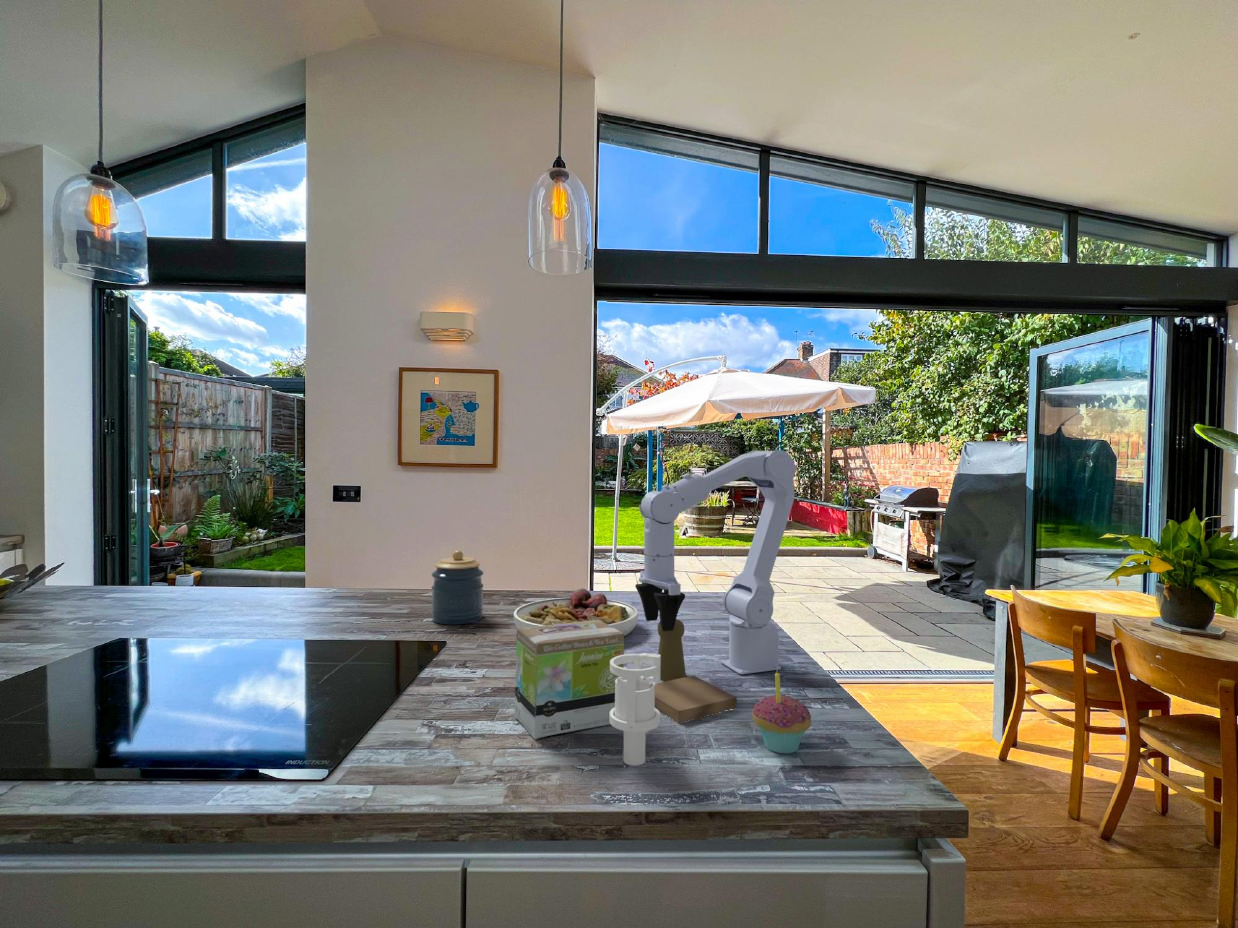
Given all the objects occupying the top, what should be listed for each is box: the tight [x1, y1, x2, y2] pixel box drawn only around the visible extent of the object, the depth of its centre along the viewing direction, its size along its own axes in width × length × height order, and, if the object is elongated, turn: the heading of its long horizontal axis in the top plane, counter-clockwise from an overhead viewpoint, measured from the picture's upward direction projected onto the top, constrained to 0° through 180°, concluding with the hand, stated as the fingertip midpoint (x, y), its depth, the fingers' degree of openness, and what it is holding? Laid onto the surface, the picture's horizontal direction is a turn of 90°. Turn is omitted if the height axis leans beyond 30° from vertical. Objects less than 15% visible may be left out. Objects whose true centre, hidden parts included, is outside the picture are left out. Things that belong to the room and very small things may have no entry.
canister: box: [431, 550, 484, 625], centre depth 165 cm, size 13×13×18 cm
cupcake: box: [752, 669, 812, 754], centre depth 94 cm, size 9×8×12 cm
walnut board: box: [649, 675, 738, 724], centre depth 110 cm, size 12×12×2 cm
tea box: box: [514, 620, 625, 740], centre depth 102 cm, size 15×10×15 cm, turn 117°
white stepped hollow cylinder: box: [609, 652, 661, 767], centre depth 89 cm, size 7×7×15 cm
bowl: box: [513, 588, 639, 637], centre depth 155 cm, size 30×30×8 cm
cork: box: [657, 618, 687, 682], centre depth 123 cm, size 6×6×11 cm
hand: (659, 625), depth 122 cm, fingers open, 7 cm apart
